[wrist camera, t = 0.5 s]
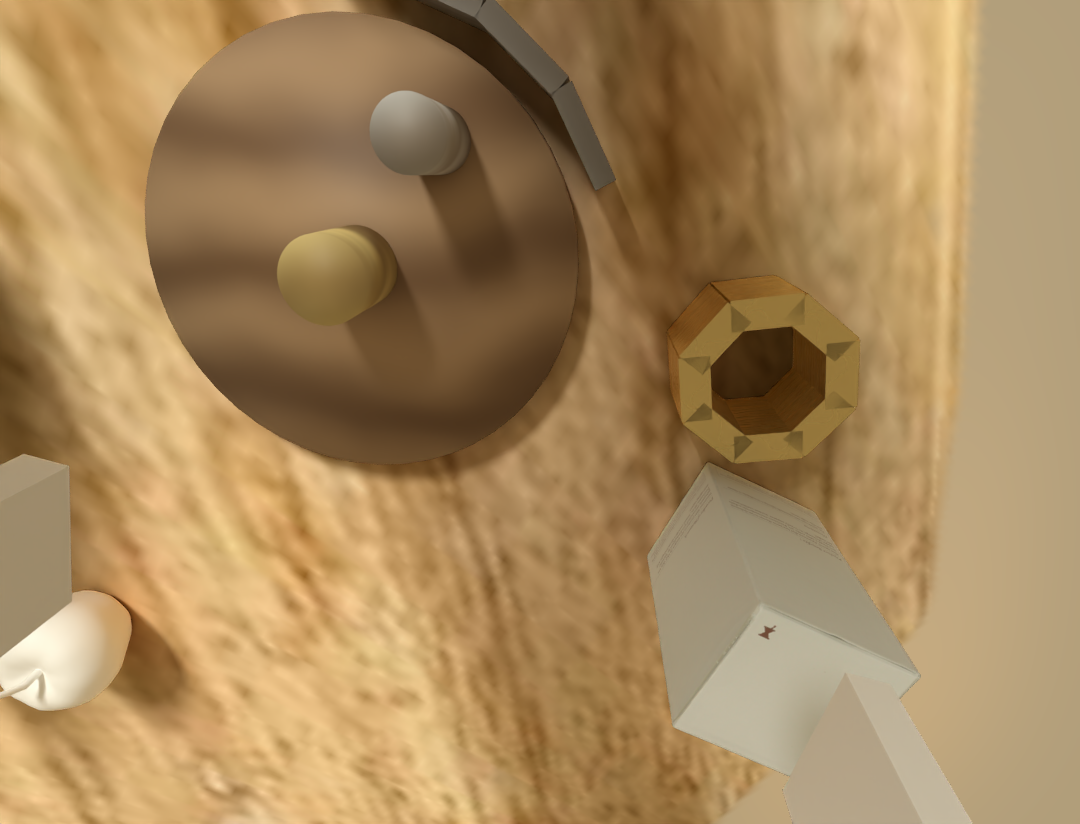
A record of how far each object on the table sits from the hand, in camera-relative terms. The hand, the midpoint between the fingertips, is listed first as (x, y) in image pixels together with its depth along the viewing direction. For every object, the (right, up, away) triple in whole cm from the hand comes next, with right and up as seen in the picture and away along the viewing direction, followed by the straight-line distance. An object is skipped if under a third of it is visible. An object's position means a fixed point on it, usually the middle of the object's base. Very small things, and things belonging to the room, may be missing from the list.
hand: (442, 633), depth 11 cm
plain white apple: (-28, -10, +33) cm, 44 cm away
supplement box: (+13, -3, +27) cm, 30 cm away
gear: (+12, +7, +22) cm, 26 cm away
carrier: (-6, +12, +22) cm, 26 cm away
